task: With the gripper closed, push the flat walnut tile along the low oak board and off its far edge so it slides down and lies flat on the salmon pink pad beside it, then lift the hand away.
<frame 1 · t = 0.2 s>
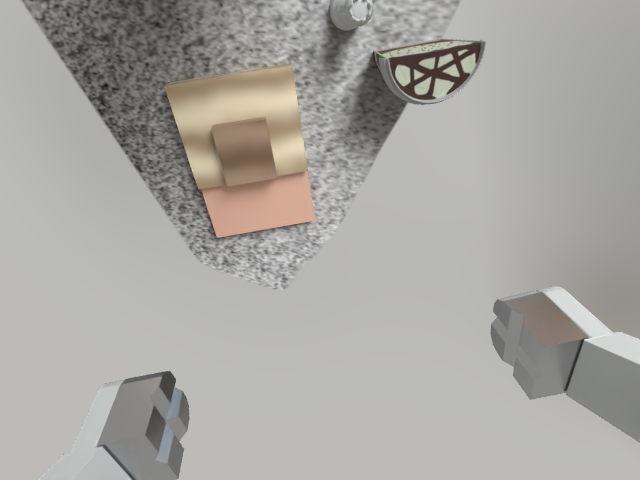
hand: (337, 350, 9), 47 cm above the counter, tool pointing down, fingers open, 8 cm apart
walnut tile: (246, 149, 50), point 3 cm above the counter, touching oak board
oak board: (242, 126, 51), on the counter
rook chess piece: (346, 10, 46), on the counter
food container: (407, 69, 51), on the counter
salmon pink pad: (260, 200, 58), on the counter
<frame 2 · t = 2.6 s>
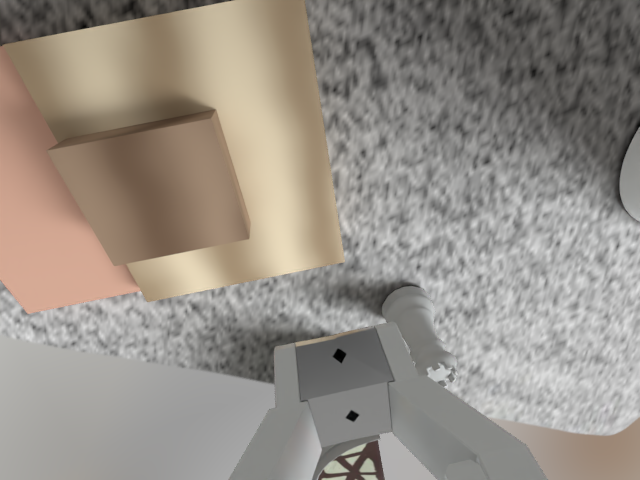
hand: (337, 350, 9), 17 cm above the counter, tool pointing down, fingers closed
walnut tile: (166, 184, 21), point 3 cm above the counter, touching oak board
oak board: (215, 158, 24), on the counter
rook chess piece: (404, 301, 33), on the counter
food container: (329, 375, 37), on the counter
salmon pink pad: (36, 194, 23), on the counter
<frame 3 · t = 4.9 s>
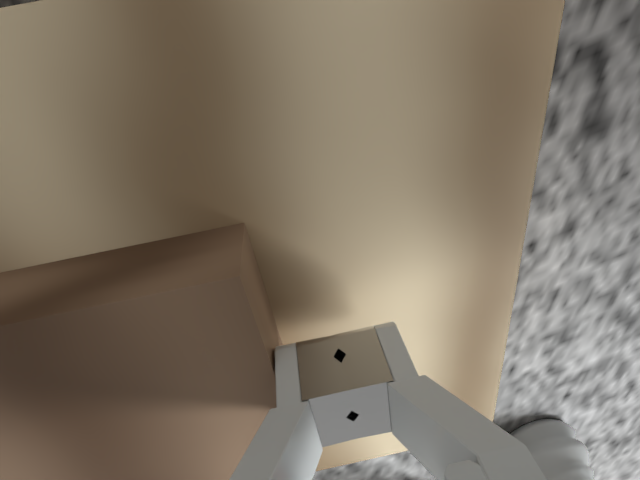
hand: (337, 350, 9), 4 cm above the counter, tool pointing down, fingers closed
walnut tile: (135, 360, 10), point 3 cm above the counter, touching oak board
oak board: (272, 266, 13), on the counter
rook chess piece: (531, 434, 22), on the counter
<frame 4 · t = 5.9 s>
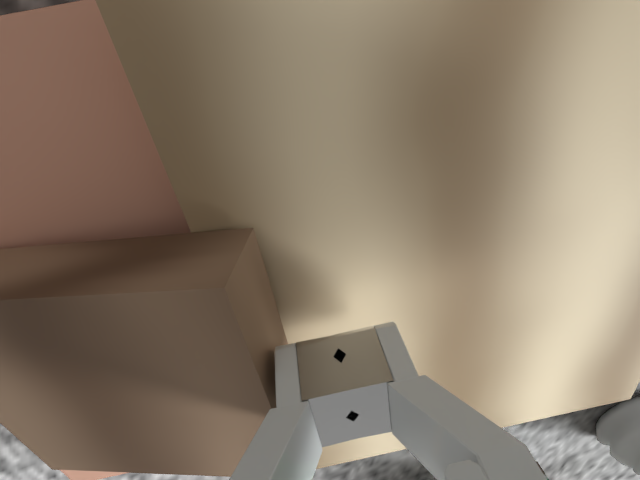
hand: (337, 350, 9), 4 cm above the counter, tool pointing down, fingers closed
walnut tile: (153, 340, 11), point 2 cm above the counter, tilted 13°, touching salmon pink pad, gripper
oak board: (435, 230, 13), on the counter
rook chess piece: (624, 412, 22), on the counter
salmon pink pad: (104, 298, 12), on the counter
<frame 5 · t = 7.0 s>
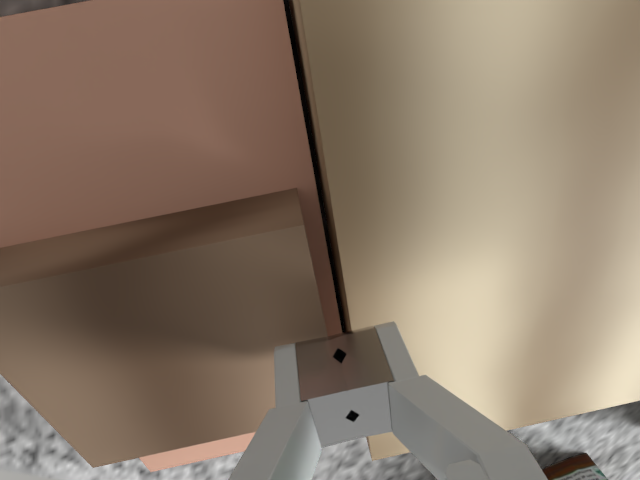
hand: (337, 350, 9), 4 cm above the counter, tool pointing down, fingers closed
walnut tile: (191, 315, 11), point 1 cm above the counter, touching salmon pink pad
oak board: (526, 214, 13), on the counter
salmon pink pad: (198, 282, 12), on the counter
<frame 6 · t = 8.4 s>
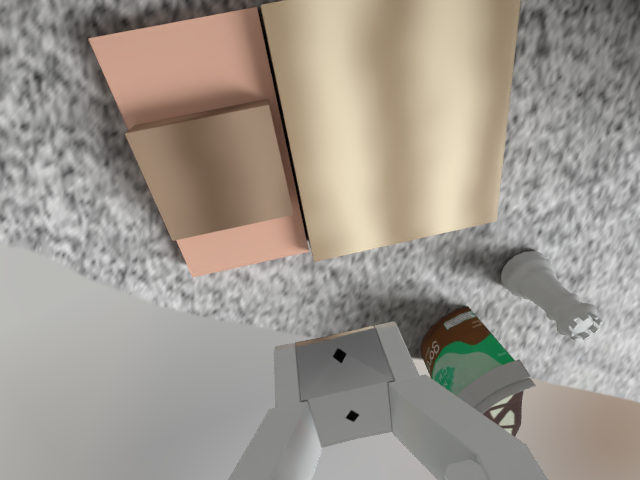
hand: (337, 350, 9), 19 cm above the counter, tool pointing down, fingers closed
walnut tile: (219, 167, 24), point 1 cm above the counter, touching salmon pink pad
oak board: (387, 123, 25), on the counter
rook chess piece: (519, 267, 34), on the counter
food container: (437, 344, 38), on the counter
salmon pink pad: (221, 157, 25), on the counter
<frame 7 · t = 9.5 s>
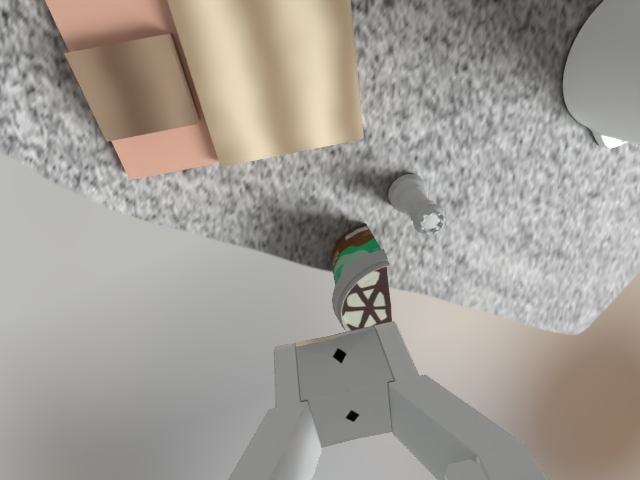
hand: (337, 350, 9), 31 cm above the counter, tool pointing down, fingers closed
walnut tile: (141, 87, 32), point 1 cm above the counter, touching salmon pink pad
oak board: (273, 58, 33), on the counter
rook chess piece: (405, 190, 42), on the counter
food container: (346, 259, 46), on the counter
salmon pink pad: (146, 82, 33), on the counter
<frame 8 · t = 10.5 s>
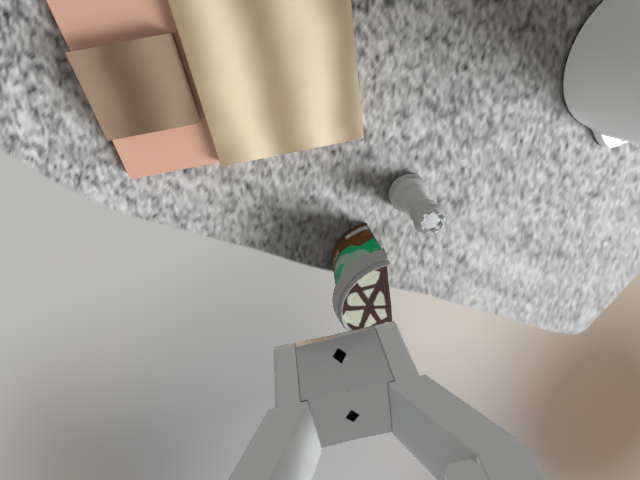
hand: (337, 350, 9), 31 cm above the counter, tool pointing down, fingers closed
walnut tile: (142, 86, 32), point 1 cm above the counter, touching salmon pink pad
oak board: (273, 58, 33), on the counter
rook chess piece: (405, 189, 42), on the counter
food container: (346, 258, 46), on the counter
salmon pink pad: (146, 82, 33), on the counter
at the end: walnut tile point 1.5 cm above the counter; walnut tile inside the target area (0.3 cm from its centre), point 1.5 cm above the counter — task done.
